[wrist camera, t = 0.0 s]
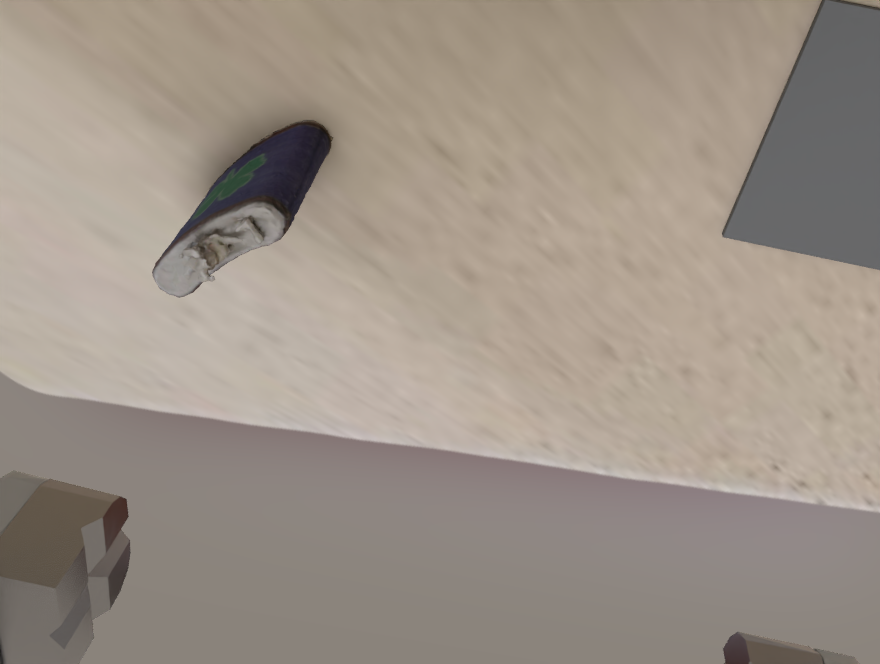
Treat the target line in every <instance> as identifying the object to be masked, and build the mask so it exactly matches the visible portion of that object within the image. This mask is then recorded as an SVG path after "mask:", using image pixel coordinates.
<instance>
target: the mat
mask: <svg viewBox="0 0 880 664" xmlns="http://www.w3.org/2000/svg"><path fill="white" fill-rule="evenodd" d="M722 235H723V237H725V238H730V239H735V240H740V241H744V242H749V243H754V244H759V245H763V246H768V247H773V248H778V249H782V250H787V251H792V252H797V253H801V254H806V255H811V256H816V257H821V258H825V259H830V260H835V261H840V262H844V263H849V264H854V265H859V266H863V267H868V268H873V269H878V270H880V9H879V8H874V7H869V6H864V5H859V4H854V3H849V2H844V1H839V0H822V3H821V5H820V7H819V10H818V12H817V14H816V17H815V19H814V21H813V24H812V26H811V28H810V31H809V33H808V35H807V37H806V40H805V42H804V44H803V47H802V49H801V51H800V54H799V56H798V58H797V61H796V63H795V65H794V68H793V70H792V72H791V75H790V77H789V79H788V82H787V84H786V86H785V89H784V91H783V93H782V96H781V98H780V100H779V103H778V105H777V107H776V110H775V112H774V114H773V116H772V119H771V121H770V123H769V126H768V128H767V130H766V133H765V135H764V137H763V140H762V142H761V144H760V147H759V149H758V151H757V154H756V156H755V158H754V161H753V163H752V165H751V168H750V170H749V172H748V175H747V177H746V179H745V182H744V184H743V186H742V189H741V191H740V193H739V196H738V198H737V200H736V202H735V205H734V207H733V209H732V212H731V214H730V216H729V219H728V221H727V223H726V226H725V228H724V230H723V233H722Z"/></svg>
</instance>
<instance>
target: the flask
mask: <svg viewBox="0 0 880 664" xmlns="http://www.w3.org/2000/svg"><path fill="white" fill-rule="evenodd" d="M332 139H333V137H331V136H330V135H329V134H328V132H327V130H326V129H325V128H324V126H323V125H321V124H319V123H317V122H316V121H302V122H298V123H294V124H290V125H289V126H287V127H285V128H283V129H281V130H278V131H275V132H273V134H271V135H269V136H267V137H266V138H263V139H261V141H260V142H259V143H257V144H255V145H253V146H252V147H251V148H250V150H248V152H247V153H245V154H244V155H243V156H242V157H240V159H238V160H237V161H236V162H234V163H233V165H232V166H231V167H229V168H228V169H227V170H226V171H225V172H224V174H223V175H221V176H220V177H219V178H218V179H217V181H216V182H215V183H214V185H213V186H212V187H211V188H210V190H209V192H208V193H207V195H206V197H205V198H204V199H203V201H202V202H201V203H200V205H199V206H198V207H197V209H196V210H195V212H194V214H193V215H192V216H191V218H190V219H189V220H188V222H187V223H186V224H185V225H184V227H183V228H182V229H181V230H180V231H179V233H178V234H177V236H176V237H175V239H174V240H173V241H172V243H171V244H170V245H169V247H168V248H167V249H166V250H165V252H164V253H163V255H162V256H161V257H160V259H159V260H158V261H157V262H156V264H155V267H154V269H153V272H152V273H153V277H154V279H155V282H156V283H157V285H158V286H159V288H160V289H161V290H163V291H165V292H166V293H168V294H170V295H174V296H176V297H179V298H180V297H184V296H186V295H188V294H190V293H193V292H194V291H195V290H196V289H197V288H198V287H199V286H200V285H201V284H202V282H206V281H213V280H215V277H214V276H210V275H211V274H212V273H213V272H215V271H217V270H219V269H220V268H221V267H222V266H224V265H225V264H227V263H228V262H230V261H231V260H234V259H235V258H237V257H238V256H240V255H242V254H244V253H246V252H248V251H250V250H253V249H256V248H260V247H262V246H268V245H270V244H272V243H274V242H276V241H278V240H280V239H281V238H282V237H283V236H284V234H285V233H286V232H287V230H288V229H289V227H290V226H291V223H292V221H293V220H294V216H295V215H296V213H297V212H298V210H299V207H300V205H301V203H302V202H303V199H304V198H305V194H306V193H307V192H308V190H309V188H310V187H311V185H312V182H313V180H314V178H315V176H316V174H317V173H318V170H319V168H320V166H321V164H322V163H323V161H324V159H325V157H326V156H327V155H328V154H329V151H330V148H331V141H332Z"/></svg>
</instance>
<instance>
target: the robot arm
mask: <svg viewBox="0 0 880 664" xmlns="http://www.w3.org/2000/svg"><path fill="white" fill-rule="evenodd" d="M128 517H129V516H128V507H127V499H125V498H123V497H120V496H117V495H112V494H109V493H104V492H101V491H97V490H93V489H89V488H84V487H80V486H76V485H72V484H68V483H64V482H60V481H56V480H52V479H47V478H42V477H38V476H34V475H30V474H26V473H21V472H17V471H12V472H10V473H8V474H7V475H5V476H3V477H2V478H0V664H79V663H80V661H81V659H82V658H83V656H84V654H85V652H86V651H87V649H88V647H89V646H90V644H91V642H92V640H93V639H94V633H93V623H92V620H93V619H95V618H97V617H98V616H100V615H102V614H103V613H105V612H107V611H108V610H110V609H111V607H112V605H113V604H114V602H115V600H116V598H117V596H118V594H119V593H120V591H121V588H122V585H123V582H124V579H125V577H126V573H127V571H128V566H129V560H130V540H129V538H128V537H127V536H126V535H125V534H124V532H123V531H122V530H121V528H122V527H123V525H124V523H125V522H126V520H127V518H128ZM723 651H724V657H725V663H724V664H860V663H859V662H858V661H857V660H856V659H855V657H852V656H847V655H843V654H838V653H834V652H829V651H824V650H820V649H812V648H811V647H809V646H804V645H799V644H794V643H789V642H784V641H780V640H775V639H770V638H765V637H760V636H756V635H751V634H746V633H741V632H736V633H735V634H733V635H732V636H731V637H730V638H729V639H728V641H727V643H726V644H725V646H724V648H723Z"/></svg>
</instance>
